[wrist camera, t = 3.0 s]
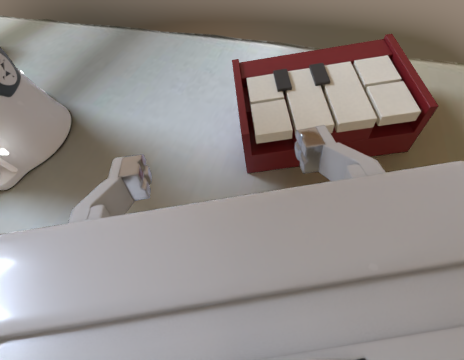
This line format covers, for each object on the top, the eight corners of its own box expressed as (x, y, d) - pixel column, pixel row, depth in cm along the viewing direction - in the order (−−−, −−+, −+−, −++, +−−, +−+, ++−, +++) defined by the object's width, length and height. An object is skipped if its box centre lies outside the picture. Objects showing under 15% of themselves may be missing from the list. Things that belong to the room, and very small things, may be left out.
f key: (377, 126, 29) (382, 117, 28) (363, 96, 32) (367, 86, 30) (415, 121, 29) (421, 111, 28) (398, 90, 31) (403, 80, 30)
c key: (256, 144, 30) (255, 135, 29) (251, 113, 32) (250, 104, 31) (292, 138, 30) (292, 130, 29) (284, 108, 32) (285, 98, 31)
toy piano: (247, 173, 35) (241, 134, 29) (238, 104, 41) (232, 60, 35) (407, 151, 34) (438, 105, 27) (373, 83, 40) (392, 33, 34)
